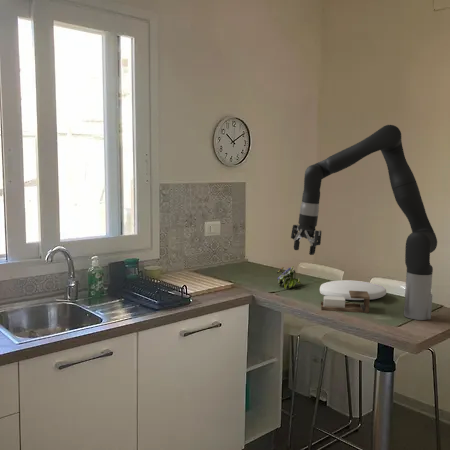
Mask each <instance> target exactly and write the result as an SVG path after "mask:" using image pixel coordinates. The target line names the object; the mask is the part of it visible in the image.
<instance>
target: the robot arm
mask: <svg viewBox="0 0 450 450" xmlns="http://www.w3.org/2000/svg"><path fill="white" fill-rule="evenodd" d="M379 151H381V154H382V157H383V159H384V161H385V164H386V168H387V170H388V171H387V172H388V179H389V182H390V187H391V190H392V194H393V196H394V197H393V198H394V199H395V202H396V204H397V205H398V207H399V209H400V210H401V211H402V213H403V214H404V216H405V217H406V219H407V221H408V222H409V223H408V224H409V225H410V229H411V233H410V234H409V235H408V236H407V238H406V241H405V249H404V251H405V253H404V254H405V255H404V257H405V258H404V261H405V266H406V275H405V277H406V278H405V289H404V290H405V293H404V308H403V316H404V317H406V318H407V319H411V320H416V321H426V320H432V308H433V307H432V306H433V294H432V284H433V272H434V271H433V270H434V269H433V266H432V265H431V257H430V256H431V253H433V252H435V250H436V249H437V247H438V237H437V235H436V233H435V231H434V228H433V227H432V224H431V222H430V220H429V218H428V215H427V212H426V209H425V206H424V202H423V199H422V196H421V195H422V194H421V192H420V191H421V190H420V188H419V186H418V182H417V180H416V177H415V176H414V175H415V174H414V173H413V171H412V169H411V167H410V165H409V164H408V161H407V159H406V156H405V152H404V148H403V142H402V131H401V130H400V128H399V127H398V126H397V125H393V124H387V125H383V126H382V127H381V128H379V129H378V130H375V132H373V133H372V134H370V135H369V136H367V137H366V138H364V139H362V140H361V141H359V142H357V143H355V144H353V145H351V146H349V147H346V148H345V149H342V150H341V151H338V152H336V153H334V154H332V155H330V156H329V157H326V158H324V159H322V160H320V161H318V162H316V163H314V164H311V165H309V166H307V167H306V169H305V172H304V179H303V191H302V197H301V204H300V207H299V214H298V224H293V225H292V227H291V235H290V239H292V240H293V241H294V242H293V249H294V251H299V250H300V242H301V239H303V238H305V239H306V240H307V241H308V242H309V244H310V246H309V250H308V251H309V253H308V254H309V255H310V256H313V255H314V254H315V253H316V248H317V246H320V245H321V241H322V230H316V227H317V225H318V218H319V211H320V210H319V209H320V200H321V186H322V181H323V179H325V178H327V177H329V176H330V175H332V174H336V173H339V172H341V171H343V170H345V169H347V168H349V167H351V166H354V165H355V164H357V162H359V161H360V160H362V159H363V158H365V157H367V156H369V155H371V154H373V153H376V152H379Z"/></svg>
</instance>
